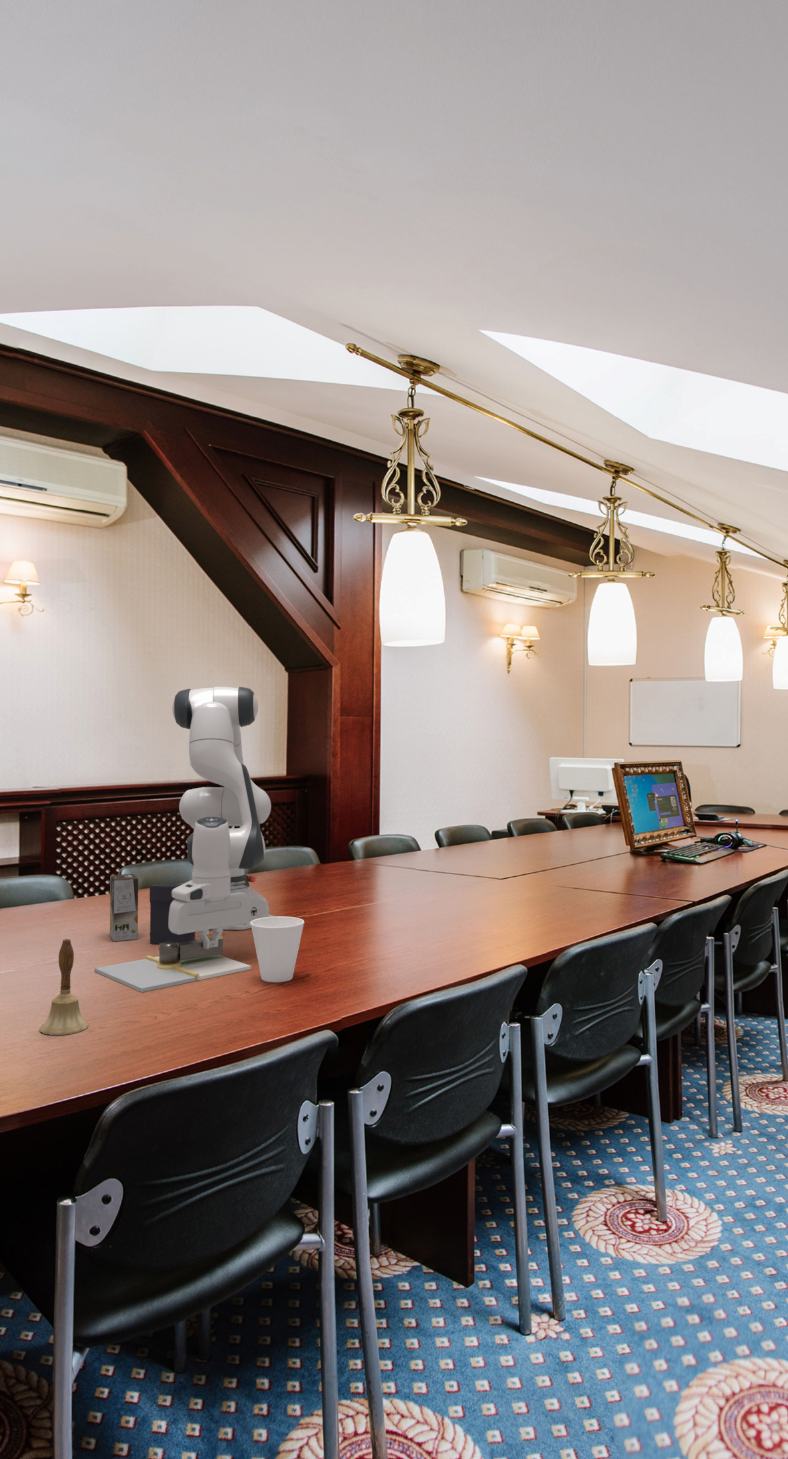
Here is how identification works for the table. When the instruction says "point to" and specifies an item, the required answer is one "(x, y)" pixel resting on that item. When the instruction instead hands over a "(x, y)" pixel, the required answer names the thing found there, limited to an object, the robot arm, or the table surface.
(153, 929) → the dark blue box
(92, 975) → the table surface
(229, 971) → the base
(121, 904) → the coffee box
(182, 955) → the bar
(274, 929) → the cup
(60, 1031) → the hand bell
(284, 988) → the table surface
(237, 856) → the robot arm
